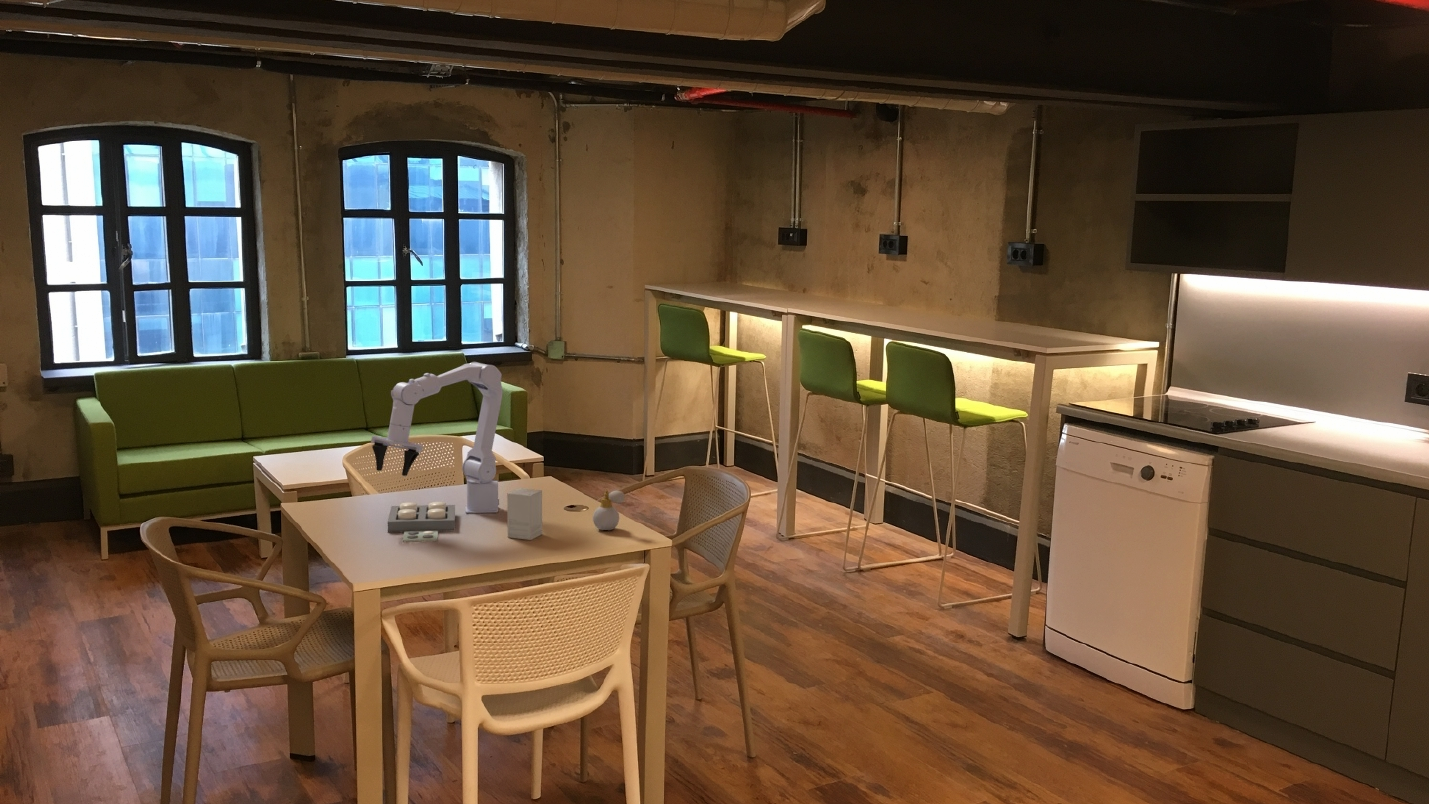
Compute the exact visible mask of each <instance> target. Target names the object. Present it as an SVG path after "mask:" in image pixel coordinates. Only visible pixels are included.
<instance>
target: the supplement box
mask: <svg viewBox="0 0 1429 804" xmlns="http://www.w3.org/2000/svg"><path fill="white" fill-rule="evenodd" d="M506 499H507V500H506V502H507V507H506V509H507V512H506V513H507V514H506V515H507V516H506V517H507V524H506V525H507V538H508V539H509V538H510V539H519V540H526V541H527V540H528V541H532V540H534V539H535V538H537V537H539V536H541V535H543V489H542V490H541V489H535V488H534V489H532V488H525V487H524V488H523V487H522V488H521V487H519V488H516V489H514V490H512V491H510V492H507V496H506Z"/></svg>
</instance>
